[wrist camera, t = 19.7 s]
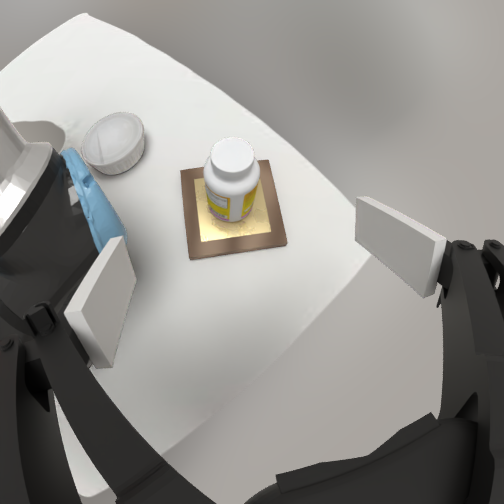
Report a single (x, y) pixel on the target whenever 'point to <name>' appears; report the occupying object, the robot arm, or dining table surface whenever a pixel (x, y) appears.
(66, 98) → the dining table surface
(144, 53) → the dining table surface
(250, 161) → the supplement bottle
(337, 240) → the dining table surface
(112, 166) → the ramekin
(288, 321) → the dining table surface
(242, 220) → the walnut plinth
